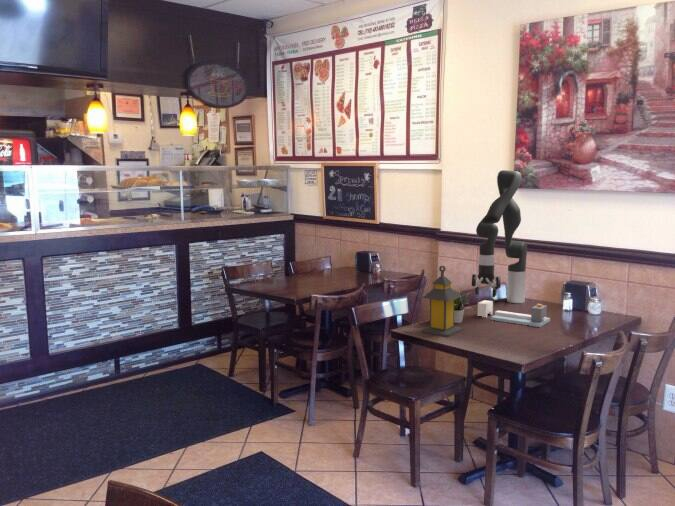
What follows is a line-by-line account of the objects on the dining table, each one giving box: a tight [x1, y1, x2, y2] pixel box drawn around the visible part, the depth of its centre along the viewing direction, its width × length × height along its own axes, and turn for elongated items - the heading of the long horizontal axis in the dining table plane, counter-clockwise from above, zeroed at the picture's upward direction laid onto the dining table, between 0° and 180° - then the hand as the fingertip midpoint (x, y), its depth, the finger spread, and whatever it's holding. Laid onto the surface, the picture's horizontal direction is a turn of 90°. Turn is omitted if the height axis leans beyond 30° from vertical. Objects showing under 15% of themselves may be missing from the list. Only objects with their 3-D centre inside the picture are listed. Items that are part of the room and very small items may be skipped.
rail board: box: [490, 303, 551, 328], centre depth 288 cm, size 14×24×9 cm, turn 52°
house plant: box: [454, 288, 472, 324], centre depth 286 cm, size 14×14×16 cm
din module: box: [477, 299, 494, 318], centre depth 300 cm, size 8×4×7 cm, turn 142°
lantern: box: [421, 265, 463, 338], centre depth 271 cm, size 14×14×30 cm
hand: (485, 295), depth 298 cm, fingers open, 8 cm apart
